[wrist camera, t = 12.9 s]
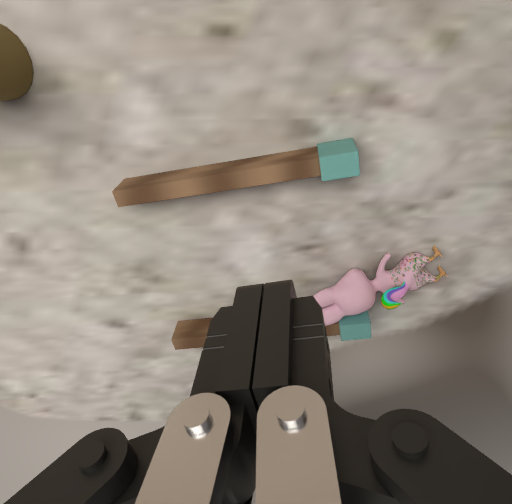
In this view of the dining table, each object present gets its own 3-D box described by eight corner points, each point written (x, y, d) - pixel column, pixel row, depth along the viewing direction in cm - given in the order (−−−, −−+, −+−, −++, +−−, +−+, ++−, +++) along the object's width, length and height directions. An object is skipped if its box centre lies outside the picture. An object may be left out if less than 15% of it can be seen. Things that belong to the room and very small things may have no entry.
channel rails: (352, 137, 35) (358, 151, 32) (366, 314, 44) (371, 338, 41) (123, 176, 38) (108, 191, 35) (182, 332, 48) (174, 355, 45)
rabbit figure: (424, 224, 40) (282, 282, 42) (455, 253, 35) (291, 317, 37) (437, 274, 43) (303, 326, 45) (467, 307, 38) (314, 365, 39)
